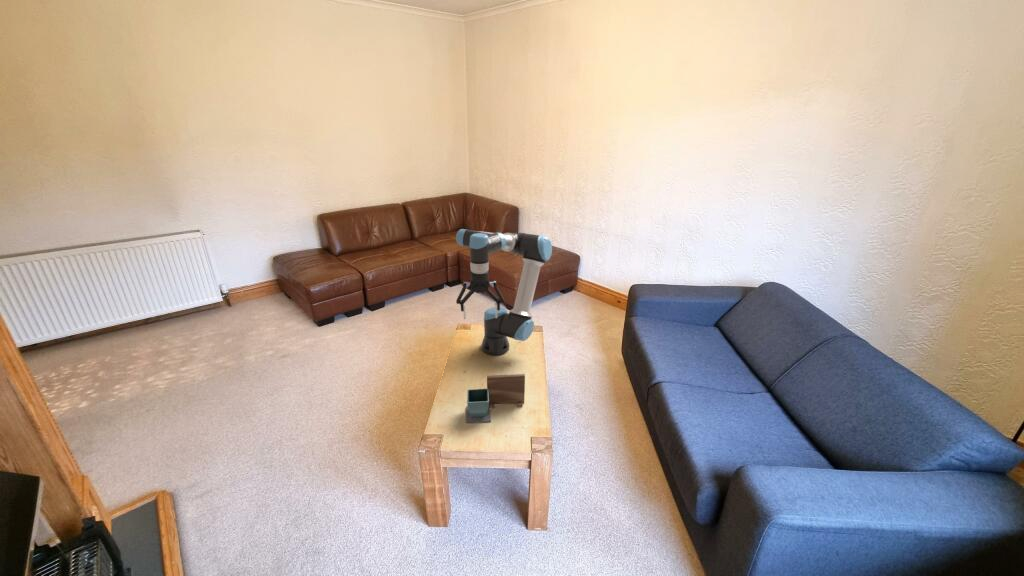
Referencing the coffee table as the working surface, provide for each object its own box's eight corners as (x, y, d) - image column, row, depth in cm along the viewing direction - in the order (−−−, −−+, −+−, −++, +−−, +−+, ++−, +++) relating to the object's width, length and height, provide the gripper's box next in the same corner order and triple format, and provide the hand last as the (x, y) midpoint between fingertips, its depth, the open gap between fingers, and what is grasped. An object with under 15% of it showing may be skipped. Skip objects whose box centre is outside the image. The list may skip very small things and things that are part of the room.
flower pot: (467, 406, 169) (467, 389, 166) (488, 405, 170) (488, 388, 166) (467, 420, 161) (466, 402, 157) (489, 419, 162) (489, 401, 158)
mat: (466, 407, 169) (466, 406, 169) (489, 406, 170) (489, 404, 170) (466, 423, 160) (466, 422, 160) (490, 421, 161) (490, 420, 161)
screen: (487, 399, 174) (486, 372, 169) (523, 397, 176) (523, 371, 171) (487, 408, 169) (487, 380, 164) (524, 406, 170) (525, 379, 165)
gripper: (448, 274, 159) (451, 322, 167) (510, 273, 161) (509, 320, 169) (449, 268, 166) (452, 314, 174) (508, 267, 168) (508, 312, 176)
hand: (480, 317), depth 172 cm, fingers open, 13 cm apart
